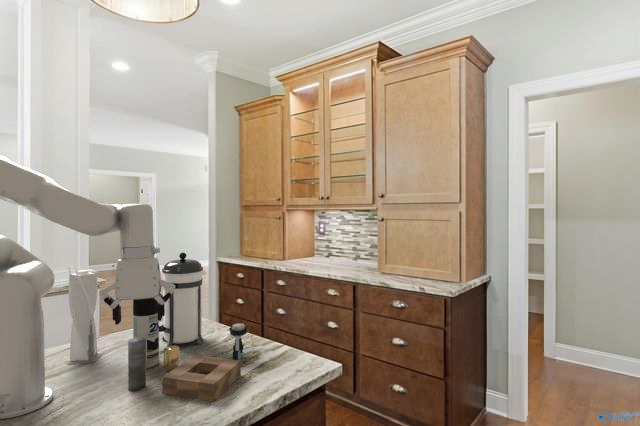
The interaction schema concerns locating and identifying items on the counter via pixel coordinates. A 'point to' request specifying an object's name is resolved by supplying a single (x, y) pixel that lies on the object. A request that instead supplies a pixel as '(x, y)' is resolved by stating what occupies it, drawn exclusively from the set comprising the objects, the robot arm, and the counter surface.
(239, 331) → the push button
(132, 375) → the tall pin
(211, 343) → the counter surface
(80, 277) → the skyscraper
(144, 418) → the counter surface
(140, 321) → the spray can
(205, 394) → the hole block
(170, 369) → the gold rounded upright piece
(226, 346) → the counter surface
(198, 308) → the coffee press
